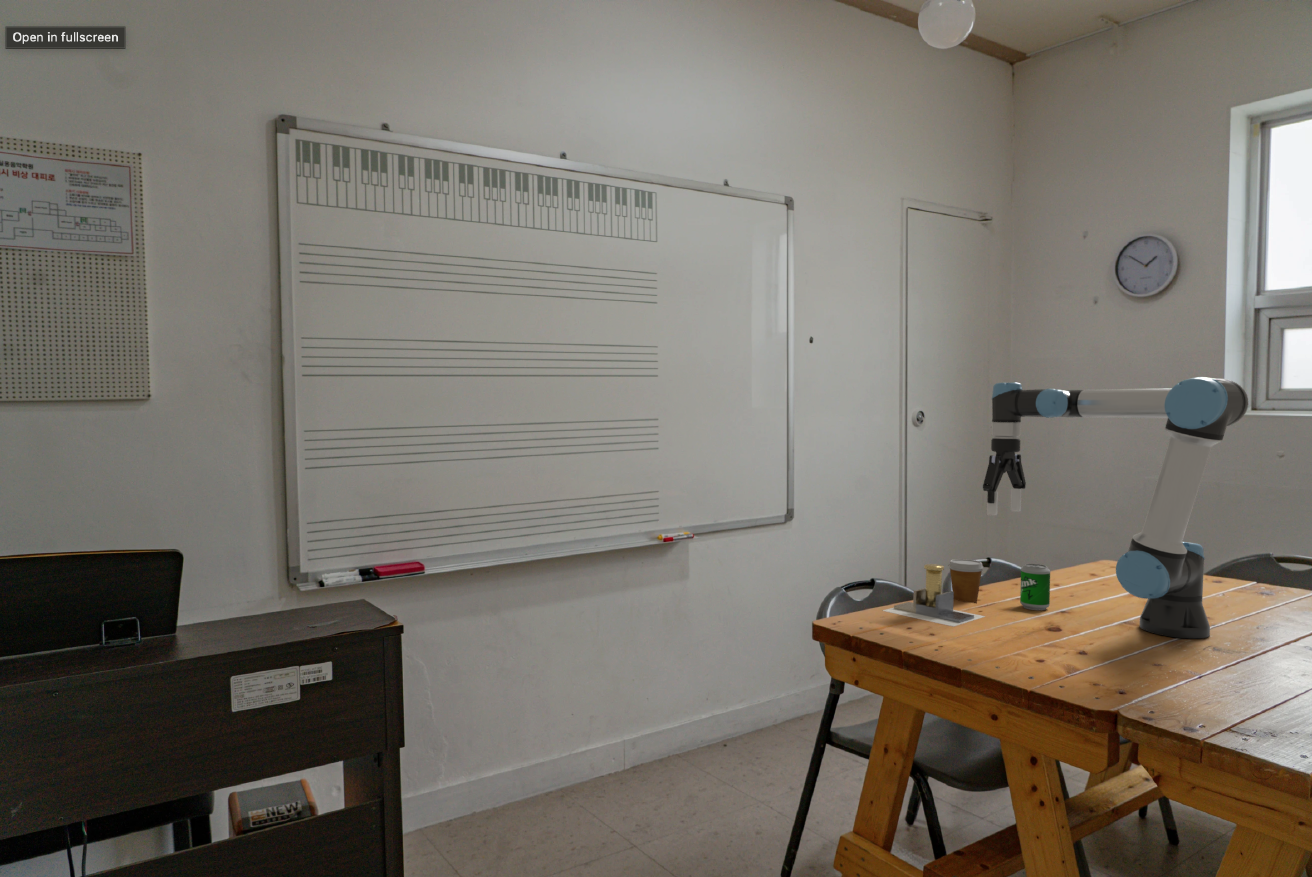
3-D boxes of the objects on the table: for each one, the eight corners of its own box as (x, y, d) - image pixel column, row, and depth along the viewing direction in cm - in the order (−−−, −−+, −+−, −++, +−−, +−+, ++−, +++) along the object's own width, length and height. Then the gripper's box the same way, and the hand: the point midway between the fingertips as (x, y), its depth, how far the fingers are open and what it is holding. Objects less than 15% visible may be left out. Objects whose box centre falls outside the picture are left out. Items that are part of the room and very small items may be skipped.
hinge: (974, 618, 216) (974, 595, 216) (959, 623, 211) (960, 599, 211) (908, 604, 231) (909, 583, 230) (893, 608, 226) (894, 586, 226)
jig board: (985, 620, 218) (985, 616, 218) (953, 631, 208) (953, 626, 208) (914, 606, 234) (914, 601, 234) (881, 615, 224) (882, 610, 224)
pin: (946, 613, 221) (947, 566, 220) (936, 616, 217) (937, 568, 217) (929, 610, 224) (930, 563, 224) (919, 613, 221) (920, 565, 221)
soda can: (1043, 605, 236) (1044, 563, 236) (1053, 611, 229) (1054, 568, 229) (1016, 604, 237) (1017, 562, 237) (1025, 610, 230) (1026, 567, 229)
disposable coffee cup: (987, 607, 234) (988, 565, 233) (954, 606, 234) (954, 564, 233) (975, 599, 243) (976, 558, 243) (943, 599, 243) (943, 558, 243)
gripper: (1014, 436, 242) (1012, 508, 243) (970, 438, 226) (968, 515, 227) (1039, 437, 237) (1037, 511, 238) (996, 439, 221) (995, 518, 221)
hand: (1004, 513), depth 232 cm, fingers open, 13 cm apart
